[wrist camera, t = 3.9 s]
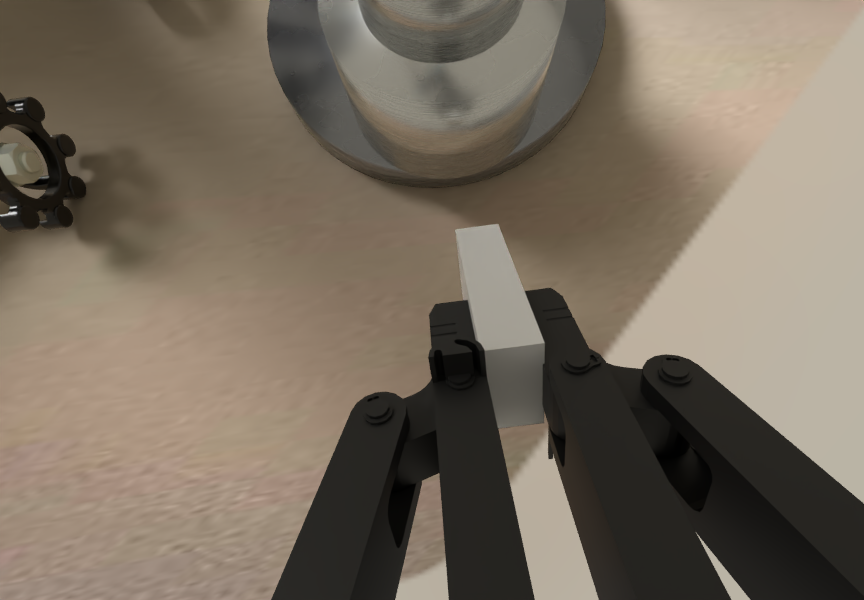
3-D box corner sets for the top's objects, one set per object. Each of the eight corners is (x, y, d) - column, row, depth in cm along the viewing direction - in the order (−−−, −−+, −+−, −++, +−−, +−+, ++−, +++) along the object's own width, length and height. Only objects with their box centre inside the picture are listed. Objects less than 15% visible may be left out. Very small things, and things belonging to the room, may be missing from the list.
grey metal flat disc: (291, 208, 24) (277, 192, 22) (272, -65, 28) (258, -100, 26) (622, 162, 24) (637, 142, 22) (563, -110, 27) (571, -149, 25)
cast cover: (362, 191, 22) (299, 60, 13) (344, 25, 24) (279, -188, 15) (553, 164, 22) (618, 13, 13) (522, -2, 24) (561, -233, 15)
